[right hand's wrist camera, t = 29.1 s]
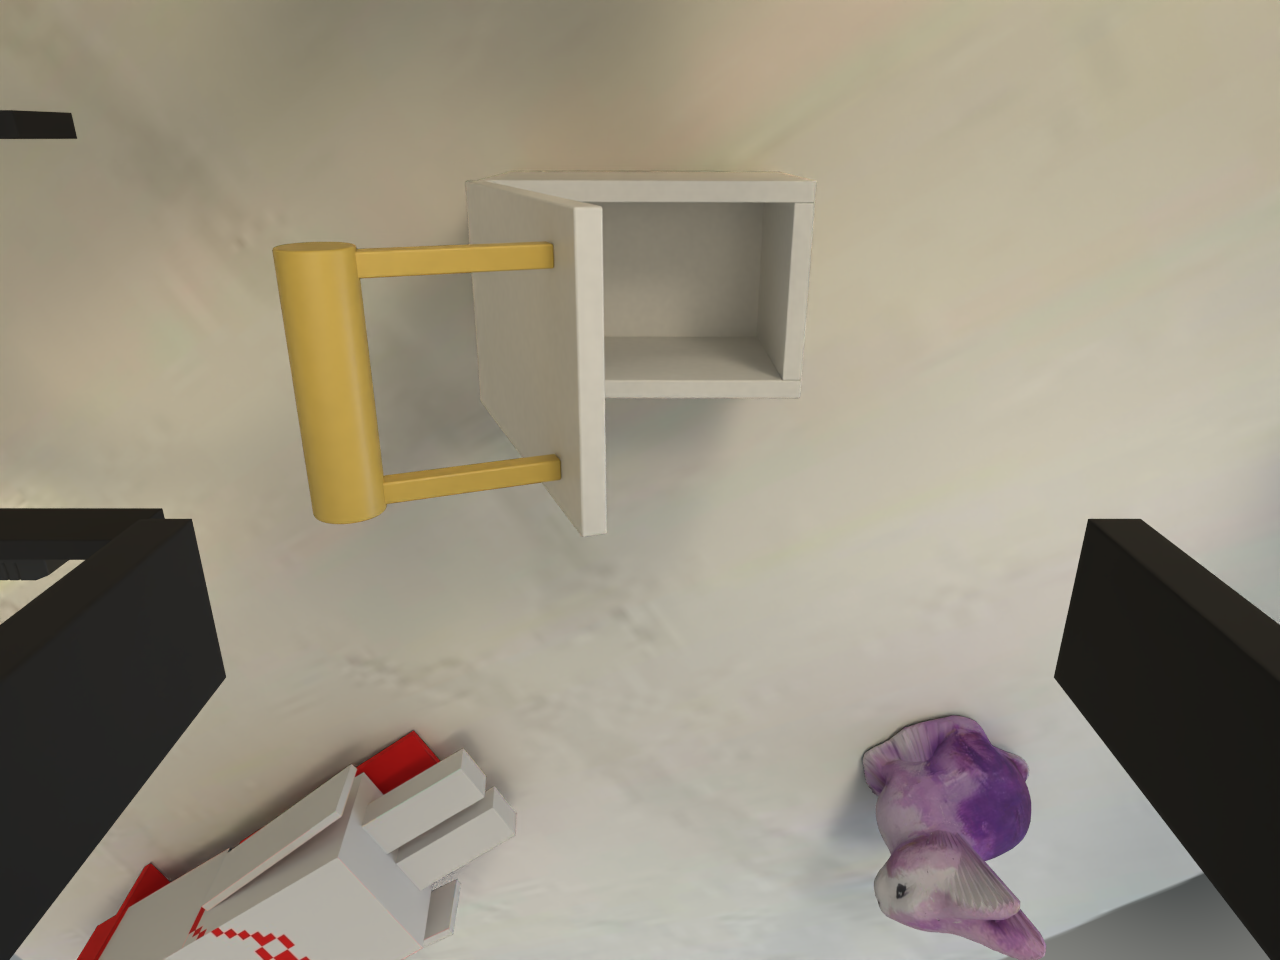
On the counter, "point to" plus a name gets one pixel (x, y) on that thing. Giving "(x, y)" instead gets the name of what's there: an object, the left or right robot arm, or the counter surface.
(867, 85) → the counter surface
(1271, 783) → the right robot arm
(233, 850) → the toy
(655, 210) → the chest
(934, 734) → the figurine
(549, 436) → the lid
